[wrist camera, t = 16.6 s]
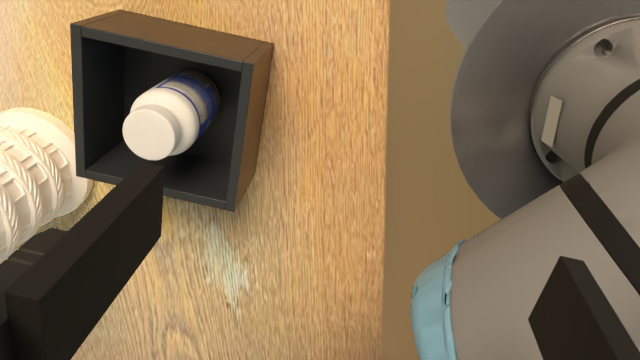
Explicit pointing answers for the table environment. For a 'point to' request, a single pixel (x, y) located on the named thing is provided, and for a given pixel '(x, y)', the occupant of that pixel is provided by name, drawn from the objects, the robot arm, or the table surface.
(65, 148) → the decorative container
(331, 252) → the table surface
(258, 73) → the bin
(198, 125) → the pill bottle
